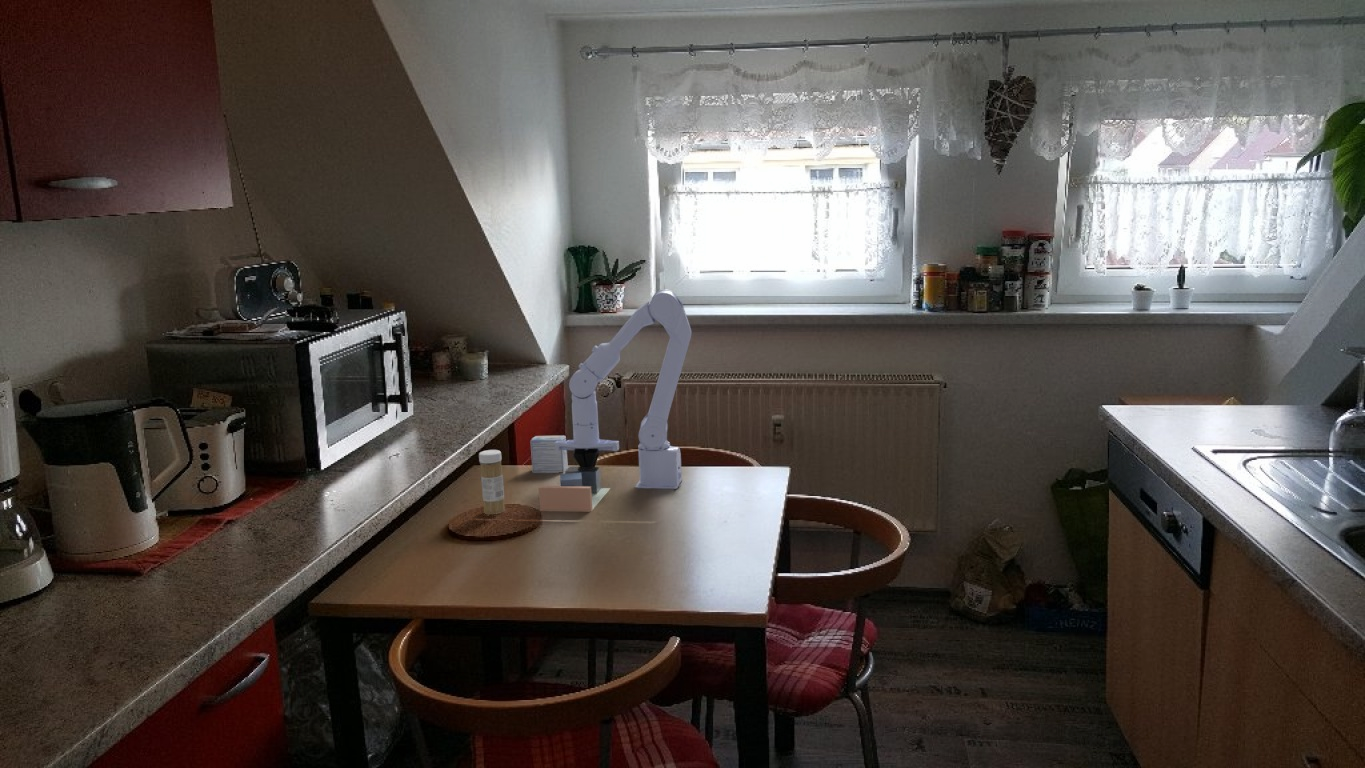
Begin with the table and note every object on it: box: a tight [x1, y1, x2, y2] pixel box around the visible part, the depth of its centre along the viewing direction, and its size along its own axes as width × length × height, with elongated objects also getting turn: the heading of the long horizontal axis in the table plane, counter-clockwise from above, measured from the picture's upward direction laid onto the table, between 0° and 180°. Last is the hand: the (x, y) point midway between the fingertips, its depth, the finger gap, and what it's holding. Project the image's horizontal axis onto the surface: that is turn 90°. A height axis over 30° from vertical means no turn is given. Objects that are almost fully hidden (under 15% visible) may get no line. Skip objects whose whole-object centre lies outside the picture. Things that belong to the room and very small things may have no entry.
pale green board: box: [538, 485, 611, 513], centre depth 211 cm, size 11×17×5 cm, turn 170°
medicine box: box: [529, 435, 569, 474], centre depth 236 cm, size 8×4×9 cm, turn 84°
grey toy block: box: [564, 466, 602, 494], centre depth 217 cm, size 7×4×5 cm, turn 80°
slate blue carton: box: [559, 473, 582, 486], centre depth 208 cm, size 4×5×6 cm
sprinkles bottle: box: [478, 449, 506, 515], centre depth 203 cm, size 5×5×14 cm
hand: (588, 481), depth 222 cm, fingers closed
